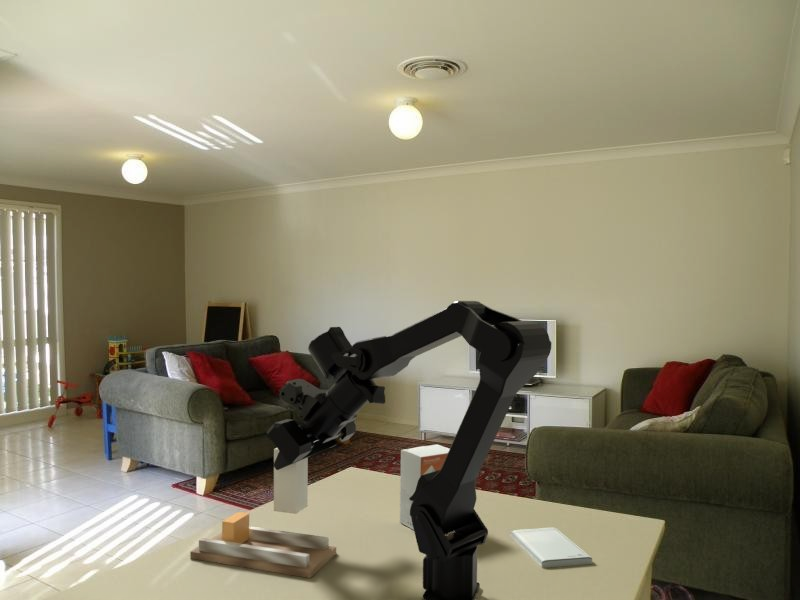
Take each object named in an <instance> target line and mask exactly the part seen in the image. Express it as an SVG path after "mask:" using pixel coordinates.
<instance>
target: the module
mask: <svg viewBox="0 0 800 600" xmlns="http://www.w3.org/2000/svg"><path fill="white" fill-rule="evenodd" d="M278 453H279V449H278V448H277V447H276V448H273V463H274V462H275V460H276V458H277V455H278ZM308 459H309V457H307V458H305V459H303V460H300V461H298V462H296V463H293V464H291V465H289V466H286V467H284V468H282V469H279V470H276V468H275V467H274V466H273V512H278V513H287V514H295V515H297V514H298V513H299V512H301V511H303V510H304V509H306V508H307V507H309V505H308V504H309V502H308V500H309V499H308V497H309V496H308V493H309V492H308V491H309V490H308V487H309V486H308V485H309V484H308V483H309V481H308V480H309V479H308V477H309V474H308V472H309V471H308V470H309V469H308V468H309V465H308V462H309V461H308Z"/></svg>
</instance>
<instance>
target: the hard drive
mask: <svg viewBox="0 0 800 600" xmlns="http://www.w3.org/2000/svg"><path fill="white" fill-rule="evenodd" d="M510 537H511V538H512V539H513V540H514V541H515V542H516V544H518V545H519V547H520V548H521V549H522V550H523V551H524V552H525V553H526V554H527V555H528V556H530V558H531V559H532V560H533V561H535V563H536V564H537V565H539V567H541V568H542V569H543V568H555V567H565V566H566V567H568V566H579V565H580V566H581V565H589V564H591V565H592V564H593V557H591V556H590V555H589V554H588V553H587V552H585V550H583V549H582V548H581V547H579V546H578V545H577V544H576V543H575V542H574V541H573V540H571V539H570V538H568V537H567V535H565V534H563V532H561V531H560V530H559V529H558V528H556V527H553V526H552V527H541V528H525V529H523V528H522V529H515V530H511V531H510Z"/></svg>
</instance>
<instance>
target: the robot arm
mask: <svg viewBox="0 0 800 600" xmlns="http://www.w3.org/2000/svg"><path fill="white" fill-rule="evenodd" d="M460 337H462V338H463V339H464V340H465V341H466V343H467V344H468V345H469V346H470V347H472V348H473V349H475V350H477V351H479V354H478V370H479V381H478V382H479V383H478V385H477V387H476V389H475V391H474V393H473V396H472V398H471V400H470V402H469V404H468V406H467V409H466V411H465V414H464V417H463V419H462V420H461V423H460V425H459V427H458V430H457V432H456V434H455V436H454V438H453V441H452V443H451V445H450V447H449V449H450V450H449V452H448V454H447V456H446V459H445V461H444V463H443V465H442V468H441V469H440V470H437V471H434V472H431V473H428V474H424V475H421V477H420V478H419V480H418V483H417V487H416V490H415V492H414V494H413V495H412V496H411V497H410V498H409V499H410V500H411V501H413V502H412V504H411V507H410V516H411V519H412V524H413V528H414V530H413V531H414V532H413V533H414V536H415V539H416V544H417V549H418V551H419V553H421V554H424V555H425V556H424V557H423V559H422V589H423V590H425V591H424V592H423V594H422V600H475V599H476V597H477V595H478V592H479V590H480V585H481V583H480V582H478V546H481V545H484V544H485V543H486V540H487V536H488V535H489V530H488V528H487V526H486V525H485V523H484V522H483V521H482V519H481V517H480V516H479V514H478V512H477V511H476V510H475V506H476V504H477V503H476V502H477V491H476V484H475V483H476V480H477V478H478V476H479V473H480V472H481V469H482V467H483V465H484V463H485V460H486V459H487V456H488V454H489V452H490V450H491V448H492V446H493V444H494V442H495V439H496V437H497V436H498V433H499V431H500V430H501V426H502V424H503V422H504V420H505V418H506V416H507V414H508V411H509V409H510V407H511V406H512V403H513V402H514V399H515V397H516V396H517V394H518V392H519V391H520V390H521V389H523V387H525V385H527V383H529V382H530V380H532V379H533V378H534V377H535V376H536V374H537V373H538V372H539V370H540V369H541V368H542V366H543V365H544V364H545V362H546V360H547V359H548V358H549V356H550V354H551V350H552V341H551V340H550V336H549V333H548V332H547V330H546V328H545V327H544V326H543V325H542V324H540V323H539V322H537V321H533V320H532V321H531V320H524V321H523V320H521V319H519V318H517V317H515V316H512V315H509V314H507V313H503V312H501V311H498V310H496V309H493V308H492V307H491V308H490V307H489V306H487V305H486V304H484V303H481V302H480V301H478V300H456V301H454V302H452V303H451V304H449V305H448V306H447V307H445V308H443V309H441V310H440V311H437V312H435V313H434V314H432V315H429V316H427V317H424V318H423V319H421V320H419V321H417V322H415V323H414V324H411V325H409V326H407V327H405V328H403V329H401V330H399V331H397V332H395V333H393V334H389V335H384V336H378V337H377V336H376V337H372V338H371V337H370V338H368V339H362V340H359V341H356V342H354V344H351V342H350V341H349V340H348V338H347V336H346V334H345V332H344V330H343V329H342V328H341V326H330V327H329V329H328V330H327V331H325V332H323V333H321V334H319V335H318V336H316V337H315V338H314V339H312V340H311V341H310V342H309V344H308V349H307V350H308V352H309V354H310V356H311V357H312V358H313V361H314V362H315V363H316V365H317V367H318V368H319V370H320V372H321V373H322V374H323V376H324V378H326V379H328V380H334V381H335V380H336V381H335V382H334V384H333V385H331V386H330V388H329V389H328V390H327V391H326V392H323V391H322V390H321V389H320V388H318V387H317V386H315V385H313V384H312V383H310V382H308V381H307V380H305V379H302V378H297V379H292V380H291V379H290V380H288V381H286V382H285V383H284V384H283V386H282V387H280V388H278V389H279V399H280V400H281V402H283V403H286V404H288V405H289V406H291V407H293V408H294V409H296V410H298V411H299V412H298V413H297V416H298V418H300V420H301V421H304V422H303V423H299V424H298V423H297V422H296V420H295V419H291V418H288V419H287V418H286V419H282V420H280V421H276V422H273V424H272V425H270V427H269V428H268V429H267V431H266V435H267V436H268V438H269V439H270V440H271V442H272V443H273V444H274V446H275V447H276V448H278V449H279V453H278V455H277V458H276V460H275V462H274V461H273V468H274V467H275V468H276V470H279V469H282V468H284V467H286V466H289V465H291V464H293V463H296V462H298V461H300V460H303V459H305V458H307V457H308V458H310V457H311V456H314V455H317V454H319V453H322V452H324V451H326V450H328V449H330V448H333V447H335V446H337V445H338V442H337V440H336V439H337V438H338V437H339V436H340V437H339V441H340V442H341V443H343V442H345V441H348V440H350V438H352V436H354V434H356V432H357V431H356V423H355V422H354V421H355V420H356V419H357V418H358V415H357V414H358V413H359V412H360V410H362V408H363V407H364V406H365V405H366V404H367V403H369V404H374V405H375V404H377V405H385V404H386V395H385V391H386V390H385V389H386V387H385V386H383V385H378V383H377V382H376V381H375V379H380V378H388V377H394V376H396V375H397V374H399V372H401V371H403V370H404V369H405V368H406V367H408V366H409V364H410V362H411V361H412V360H413V359H415V358H416V357H417V356H420V355H422V354H424V353H426V352H428V351H431V350H434V349H435V348H437V347H439V346H442V345H444V344H446V343H448V342H451V341H454V340H455V339H458V338H460Z"/></svg>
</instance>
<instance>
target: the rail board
mask: <svg viewBox="0 0 800 600" xmlns="http://www.w3.org/2000/svg"><path fill="white" fill-rule="evenodd" d="M329 544H330V543H329V537H328V536H327V537H326V536H321V535H314V534H313V535H312V534H306V533H302V532H301V533H300V532H292V531H287V530H286V531H285V530H279V529H271V528H263V527H259V526H258V527H257V526H252V525H251V526H250V525H249V539H248V540H246V541H245V542H243V543H242V544H240V543H234V542H227V541H222V532H220V533H219V534H216V535H215V536H213V537H212V538H207V537H202V538H200V539H199V540H198V546H197V547H196V548H194V549H192V550H191V551H190V552H189V553H190V555H189V557H190V559H194V560H199V561H204V562H205V561H206V562H212V563H216V562H217V564H224V565H228V566H229V565H230V566H236V567H241V568H246V569H253V570H260V571H265V572H270V573H271V572H272V573H277V574H283V575H284V574H285V575H290V576H296V577H302V578H308V579H311V578H312V577H313V576H314V575H315V574H316V573H318V572H319V570H321V569H322V567H324V566H325V565H326V564H327V563H328V562H329V561H330V560H332V558H333V557H334V556H336V554H337V546H332V545H329Z"/></svg>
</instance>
